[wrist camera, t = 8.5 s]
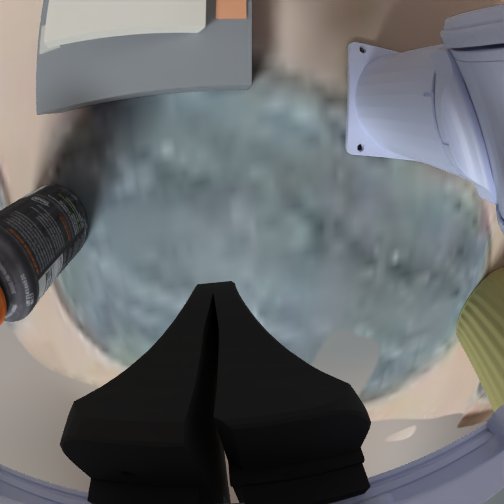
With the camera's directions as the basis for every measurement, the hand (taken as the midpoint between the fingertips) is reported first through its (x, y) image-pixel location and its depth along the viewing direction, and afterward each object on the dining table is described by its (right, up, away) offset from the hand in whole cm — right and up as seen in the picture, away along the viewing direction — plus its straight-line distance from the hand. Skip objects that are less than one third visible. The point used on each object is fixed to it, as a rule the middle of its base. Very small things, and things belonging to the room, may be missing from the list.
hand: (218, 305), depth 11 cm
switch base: (-6, +21, +1) cm, 22 cm away
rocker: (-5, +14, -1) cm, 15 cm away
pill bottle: (-14, +4, +8) cm, 16 cm away
